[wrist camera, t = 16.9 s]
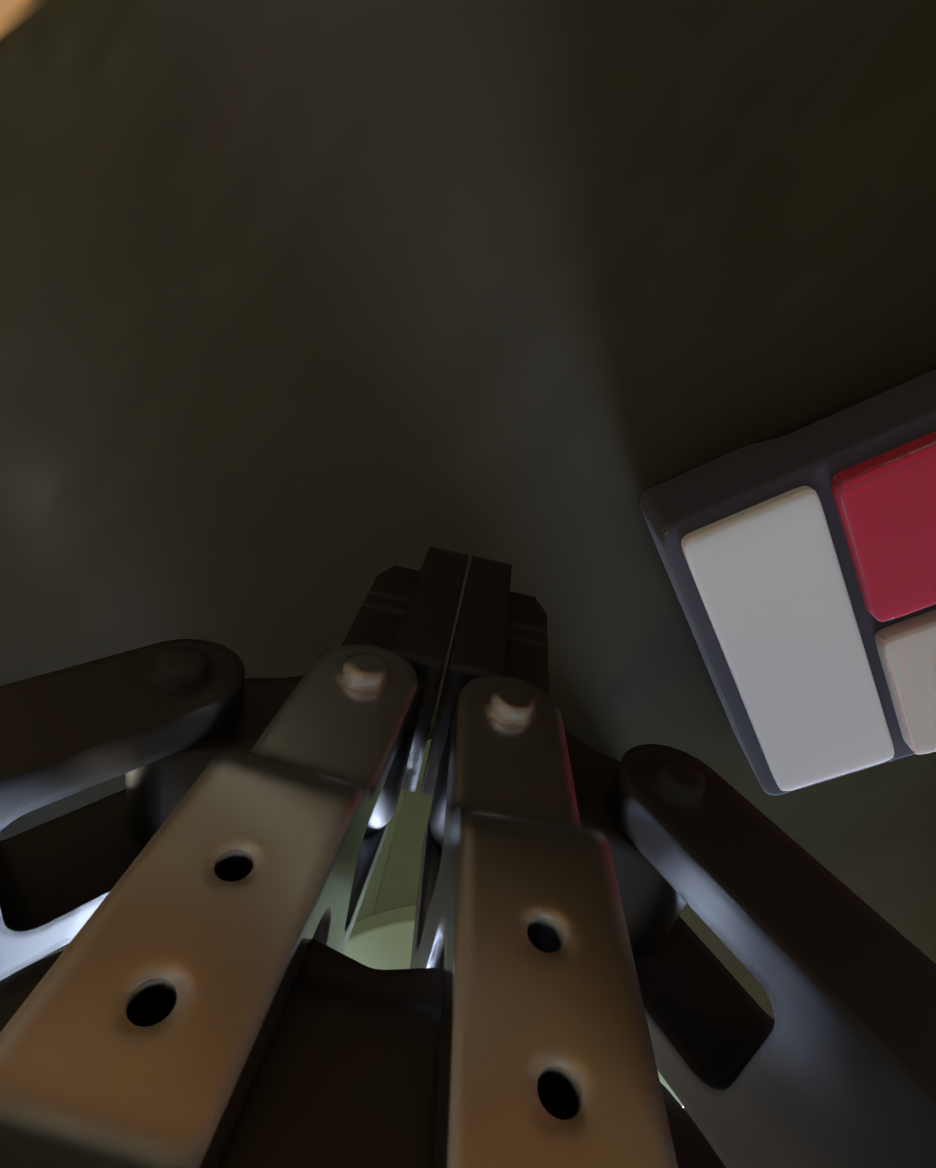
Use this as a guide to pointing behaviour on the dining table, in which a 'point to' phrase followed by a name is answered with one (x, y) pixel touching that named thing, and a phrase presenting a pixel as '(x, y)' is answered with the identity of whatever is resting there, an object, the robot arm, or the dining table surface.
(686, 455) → the dining table surface
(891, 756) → the black square box
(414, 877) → the pot
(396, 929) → the pot lid
